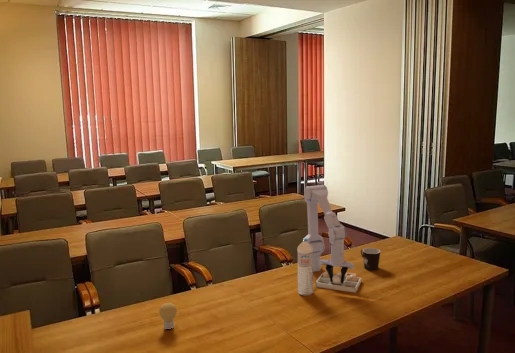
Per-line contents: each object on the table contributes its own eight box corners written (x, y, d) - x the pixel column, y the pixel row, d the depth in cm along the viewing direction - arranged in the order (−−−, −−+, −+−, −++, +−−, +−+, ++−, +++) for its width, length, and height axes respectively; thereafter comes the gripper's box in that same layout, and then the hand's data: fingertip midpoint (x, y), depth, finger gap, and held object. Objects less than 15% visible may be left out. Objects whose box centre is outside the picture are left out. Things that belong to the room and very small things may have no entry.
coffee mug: (382, 273, 214) (382, 253, 212) (364, 273, 214) (364, 254, 213) (376, 264, 226) (376, 245, 224) (359, 264, 226) (359, 246, 224)
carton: (315, 288, 199) (315, 277, 198) (322, 278, 210) (322, 268, 209) (355, 294, 191) (355, 283, 190) (361, 283, 202) (361, 273, 202)
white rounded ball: (331, 284, 196) (331, 275, 196) (333, 280, 200) (333, 271, 200) (340, 286, 195) (340, 276, 194) (343, 282, 199) (343, 273, 198)
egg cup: (342, 279, 208) (343, 276, 208) (345, 275, 213) (345, 271, 213) (354, 281, 206) (354, 277, 205) (357, 276, 211) (357, 273, 210)
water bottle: (295, 294, 193) (294, 240, 189) (301, 288, 199) (300, 235, 195) (309, 297, 190) (309, 242, 186) (315, 291, 196) (315, 237, 192)
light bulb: (170, 322, 171) (168, 298, 170) (181, 327, 167) (179, 302, 166) (157, 329, 166) (155, 304, 165) (167, 334, 162) (166, 309, 161)
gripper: (318, 253, 194) (318, 282, 197) (351, 257, 188) (351, 287, 191) (323, 248, 201) (323, 276, 203) (354, 252, 195) (354, 281, 197)
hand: (337, 281), depth 197 cm, fingers closed on white rounded ball, 4 cm apart
